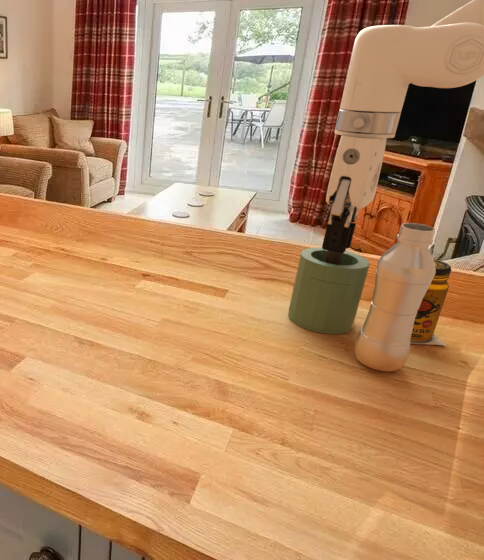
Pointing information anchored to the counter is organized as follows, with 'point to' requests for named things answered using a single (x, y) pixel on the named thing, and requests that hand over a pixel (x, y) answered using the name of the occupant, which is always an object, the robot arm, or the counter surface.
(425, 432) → the counter surface
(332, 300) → the green hollow cylinder cup
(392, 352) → the plastic bottle
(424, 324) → the condiment
